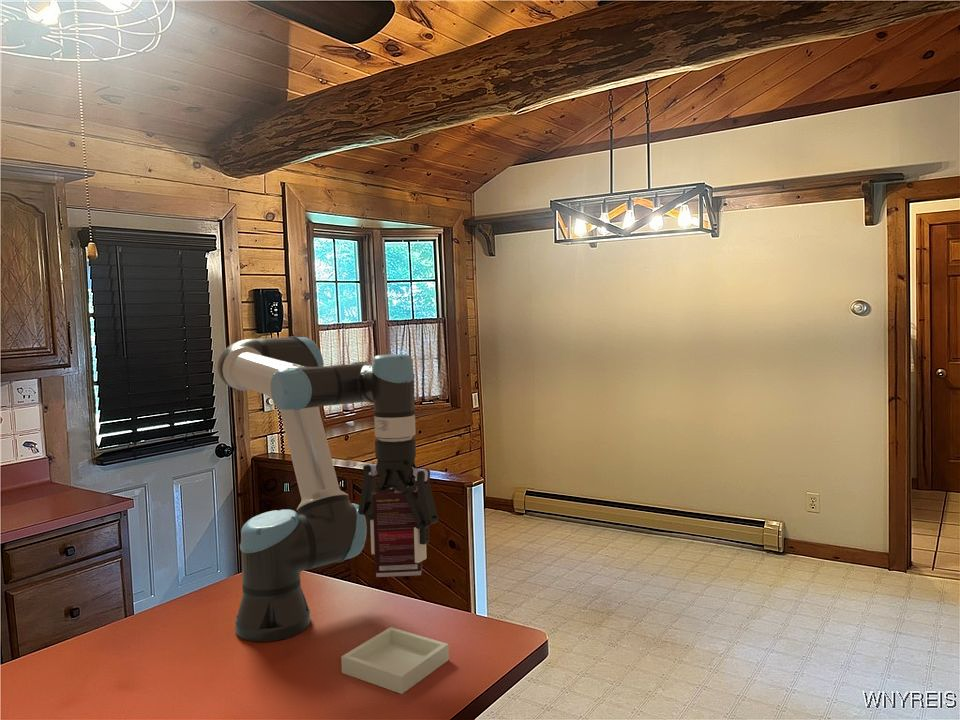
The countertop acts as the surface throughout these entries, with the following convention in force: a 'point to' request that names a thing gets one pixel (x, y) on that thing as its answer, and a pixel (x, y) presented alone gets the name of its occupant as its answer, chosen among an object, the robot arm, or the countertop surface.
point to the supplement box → (394, 534)
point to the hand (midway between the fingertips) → (398, 556)
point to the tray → (395, 659)
